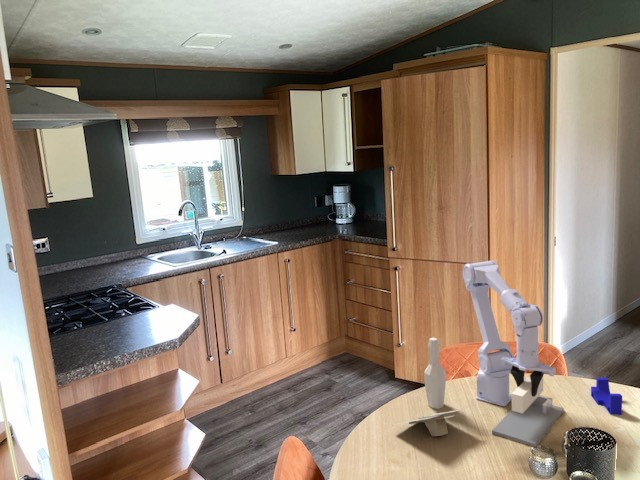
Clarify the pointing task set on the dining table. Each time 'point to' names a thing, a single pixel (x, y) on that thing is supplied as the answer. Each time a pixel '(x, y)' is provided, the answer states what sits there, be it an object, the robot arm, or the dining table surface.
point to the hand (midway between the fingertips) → (527, 393)
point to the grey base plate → (529, 422)
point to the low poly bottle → (434, 377)
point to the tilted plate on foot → (434, 422)
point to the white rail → (525, 395)
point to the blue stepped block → (606, 397)
